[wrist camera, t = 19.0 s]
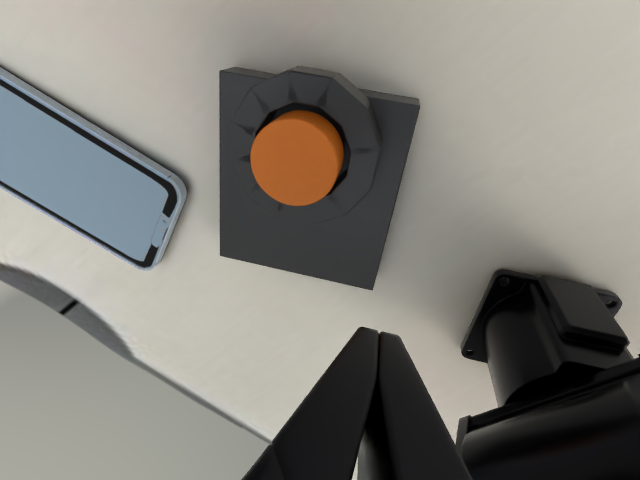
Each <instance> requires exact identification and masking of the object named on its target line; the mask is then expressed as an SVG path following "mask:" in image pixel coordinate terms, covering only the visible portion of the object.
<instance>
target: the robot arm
mask: <svg viewBox="0 0 640 480" xmlns="http://www.w3.org/2000/svg"><path fill="white" fill-rule="evenodd" d="M501 278H507V279H506V280H505V281H500V279H501ZM609 301H612V302H611V303H609V304H606V303H607V302H609ZM621 306H622V301H621V300H620V298H619V297H618V296H617V295H616V294H615V293H612V292H607V291H602V290H598V289H593V288H592V287H591V286H590V285H585V284H581V283H576V282H571V281H567V280H562V279H557V278H552V277H548V276H539V277H537V276H532V275H528V274H523V273H518V272H514V271H509V270H499V271H497V272H495V273H494V275H493V277H492V279H491V281H490V283H489V286H488V288H487V290H486V292H485V294H484V297H483V299H482V301H481V303H480V305H479V308H478V310H477V312H476V314H475V316H474V319H473V321H472V323H471V325H470V328H469V330H468V332H467V334H466V336H465V339H464V341H463V343H462V345H461V353H462V355H463V356H464V357H465V358H468V359H472V360H477V361H481V362H485V363H488V366H489V370H490V374H491V378H492V383H493V387H494V391H495V395H496V399H497V403H498V408H495V409H492V410H490V411H487V412H484V413H481V414H478V415H476V416H473V417H472V416H470V415H469V416H466V417H463V418H461V419H459V425H458V432H457V439H456V445H455V444H454V442H453V440H452V438H451V436H450V434H449V432H448V430H447V428H446V426H445V424H444V422H443V420H442V418H441V416H440V414H439V412H438V410H437V408H436V406H435V404H434V402H433V401H432V399H431V397H430V395H429V393H428V391H427V389H426V387H425V385H424V383H423V381H422V379H421V377H420V375H419V373H418V371H417V369H416V367H415V365H414V363H413V361H412V359H411V358H410V356H409V354H408V352H407V350H406V348H405V346H404V344H403V342H402V340H401V338H400V337H399V336H398V335H395V334H391V333H387V332H380V333H378V331H377V330H374V329H370V328H366V327H360V328H358V329H357V331H356V332H355V333H354V335H353V336H352V337H351V339H350V340H349V341H348V342H347V344H346V345H345V346H344V348H343V349H342V350H341V352H340V353H339V354H338V356H337V357H336V358H335V359H334V361H333V362H332V363H331V365H330V366H329V367H328V369H327V370H326V371H325V373H324V374H323V375H322V377H321V378H320V379H319V380H318V382H317V383H316V384H315V386H314V387H313V388H312V390H311V391H310V392H309V394H308V395H307V396H306V397H305V399H304V400H303V401H302V403H301V404H300V405H299V407H298V408H297V409H296V411H295V412H294V413H293V414H292V416H291V417H290V418H289V420H288V421H287V422H286V424H285V425H284V426H283V428H282V429H281V430H280V431H279V433H278V434H277V435H276V437H275V438H274V439H273V441H272V445H271V444H270V445H269V446H268V447H267V448H266V449H265V451H264V452H263V453H262V455H261V456H260V457H259V459H258V460H257V461H256V462H255V464H254V465H253V466H252V467H251V469H250V470H249V471H248V472H247V474H246V475H245V476H244V477H243V478H242V480H352V476H353V472H354V468H355V464H356V460H357V456H358V477H357V480H640V354H639V355H638V356H639V357H638V358H636V359H634V358H633V357H632V355H631V354H630V352H629V351H628V349H627V348H626V347H627V346H628V345H629V344H630V342H629V340H628V338H627V336H626V335H625V333H624V332H623V330H622V329H621V328H620V326H619V325H618V323H617V322H616V321H615V319H614V318H613V317H614V316H615V315H616V313H617V312H618V310H619V309H620V308H621ZM467 350H472V351H467Z"/></svg>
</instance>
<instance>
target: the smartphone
mask: <svg viewBox="0 0 640 480" xmlns="http://www.w3.org/2000/svg"><path fill="white" fill-rule="evenodd" d="M0 188H2V189H3V190H5V191H7V192H8V193H10V194H12V195H14V196H15V197H17V198H19V199H20V200H22V201H24V202H26V203H27V204H29V205H31V206H32V207H34V208H36V209H37V210H39V211H41V212H43V213H44V214H46V215H48V216H49V217H51V218H53V219H54V220H56V221H58V222H60V223H61V224H63V225H65V226H66V227H68V228H70V229H72V230H73V231H75V232H77V233H78V234H80V235H82V236H83V237H85V238H87V239H89V240H90V241H92V242H94V243H95V244H97V245H99V246H101V247H102V248H104V249H106V250H107V251H109V252H111V253H112V254H114V255H116V256H118V257H119V258H121V259H123V260H124V261H126V262H128V263H129V264H131V265H133V266H135V267H136V268H138V269H141V270H151V269H153V268H154V267H155V266H156V265H157V264H159V262H160V261H161V259H162V256H163V254H164V252H165V249H166V247H167V244H168V242H169V239H170V237H171V234H172V232H173V229H174V227H175V224H176V222H177V219H178V217H179V214H180V212H181V209H182V207H183V204H184V202H185V199H186V196H187V192H186V187H185V185H184V183H183V182H182V180H181V179H180V178H179V177H178V176H177V175H175V174H174V173H172V172H170V171H169V170H167V169H165V168H164V167H162V166H161V165H159V164H157V163H156V162H154V161H152V160H151V159H149V158H147V157H146V156H144V155H143V154H141V153H139V152H138V151H136V150H134V149H133V148H131V147H130V146H128V145H126V144H125V143H123V142H121V141H120V140H118V139H116V138H115V137H113V136H112V135H110V134H108V133H107V132H105V131H103V130H102V129H100V128H99V127H97V126H95V125H94V124H92V123H90V122H89V121H87V120H86V119H84V118H82V117H81V116H79V115H77V114H76V113H74V112H72V111H71V110H69V109H68V108H66V107H64V106H63V105H61V104H59V103H58V102H56V101H55V100H53V99H51V98H50V97H48V96H46V95H45V94H43V93H41V92H40V91H38V90H37V89H35V88H33V87H32V86H30V85H28V84H27V83H25V82H24V81H22V80H20V79H19V78H17V77H15V76H14V75H12V74H11V73H9V72H7V71H6V70H4V69H2V68H1V67H0Z"/></svg>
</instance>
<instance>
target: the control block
mask: <svg viewBox="0 0 640 480" xmlns="http://www.w3.org/2000/svg"><path fill="white" fill-rule="evenodd" d="M419 109H420V104H419V99H415V98H409V97H404V96H398V95H392V94H386V93H381V92H375V91H369V90H363V89H358V88H356V87H355V86H354V85H353V84H351V83H350V82H349V81H348V80H347V79H346V78H345V77H344V76H342V75H341V74H340V73H337V72H332V71H327V70H321V69H315V68H309V67H303V66H300V67H299V66H297V67H295V68H292V69H289V70H287V71H285V72H282V73H280V74H278V75H277V74H271V73H266V72H260V71H254V70H249V69H243V68H237V67H233V68H229V69H224V70H221V71H220V256H224V257H228V258H232V259H237V260H241V261H246V262H250V263H254V264H259V265H263V266H268V267H272V268H276V269H281V270H285V271H290V272H294V273H298V274H303V275H307V276H312V277H316V278H320V279H325V280H329V281H333V282H338V283H342V284H347V285H351V286H355V287H360V288H364V289H369V290H373V287H374V283H375V279H376V275H377V272H378V268H379V264H380V260H381V256H382V252H383V248H384V244H385V241H386V237H387V233H388V229H389V225H390V221H391V217H392V214H393V210H394V206H395V202H396V198H397V194H398V190H399V186H400V183H401V179H402V175H403V171H404V167H405V163H406V159H407V155H408V152H409V148H410V144H411V140H412V136H413V132H414V128H415V124H416V121H417V117H418V113H419ZM294 110H306V111H311V112H314V113H317V114H319V115H321V116H322V117H324V118H325V119H327V120H328V121H329V122H330V123H331V124H332V125H333V126H334V127H335V129H336V130H337V132H338V133H339V135H340V138H341V140H342V144H343V149H344V159H343V164H342V168H341V170H340V172H339V175H338V177H337V179H336V181H335V183H334V185H333V187H332V189H331V190H330V191H329V193H328V194H327V195H326V196H325V197H323V198H322V199H321V200H319V201H317V202H315V203H313V204H309V205H305V206H292V205H287V204H284V203H281V202H279V201H277V200H275V199H273V198H272V197H270V196H269V195H268V194H267V193H266V192H265V191H264V190H263V189H262V188H261V187H260V185H259V184H258V182H257V181H256V179H255V177H254V174H253V171H252V168H251V158H250V155H251V149H252V145H253V142H254V140H255V138H256V136H257V135H258V133H259V132H260V131H261V130H262V129H263V128H264V127H265V126H267V125H268V124H269V123H271V122H272V121H274V120H275V119H276V118H278V117H279V116H281V115H282V114H284V113H287V112H290V111H294Z"/></svg>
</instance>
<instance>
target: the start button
mask: <svg viewBox="0 0 640 480" xmlns="http://www.w3.org/2000/svg"><path fill="white" fill-rule="evenodd" d="M250 158H251V168H252V171H253V174H254V177H255V179H256V181H257V182H258V184H259V185H260V187H261V188H262V189H263V190H264V191H265V192H266V193H267V194H268V195H269V196H270V197H272V198H273V199H275V200H277V201H279V202H281V203H284V204H287V205H292V206H305V205H309V204H313V203H315V202H317V201H319V200H321V199H322V198H323V197H325V196H326V195H327V194H328V193H329V191H330V190H331V189H332V187H333V185H334V183H335V181H336V179H337V177H338V175H339V172H340V170H341V168H342V164H343V159H344V149H343V144H342V140H341V138H340V135H339V133H338V132H337V130H336V129H335V127H334V126H333V125H332V124H331V123H330V122H329V121H328V120H327V119H325V118H324V117H322V116H321V115H319V114H317V113H314V112H311V111H306V110H294V111H290V112H287V113H284V114H282V115H281V116H279V117H278V118H276V119H275V120H274V121H272V122H271V123H269V124H268V125H267V126H265V127H264V128H263V129H262V130H261V131H260V132H259V133H258V135H257V136H256V138H255V140H254V142H253V145H252V149H251V155H250Z"/></svg>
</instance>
